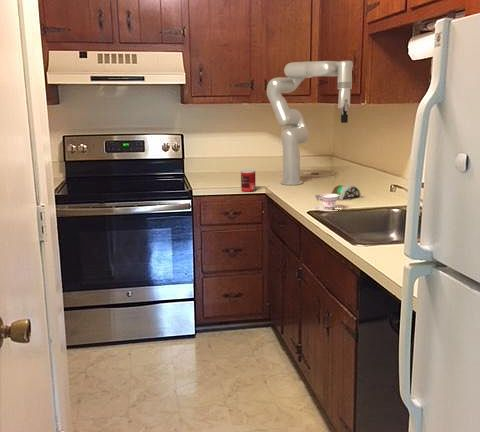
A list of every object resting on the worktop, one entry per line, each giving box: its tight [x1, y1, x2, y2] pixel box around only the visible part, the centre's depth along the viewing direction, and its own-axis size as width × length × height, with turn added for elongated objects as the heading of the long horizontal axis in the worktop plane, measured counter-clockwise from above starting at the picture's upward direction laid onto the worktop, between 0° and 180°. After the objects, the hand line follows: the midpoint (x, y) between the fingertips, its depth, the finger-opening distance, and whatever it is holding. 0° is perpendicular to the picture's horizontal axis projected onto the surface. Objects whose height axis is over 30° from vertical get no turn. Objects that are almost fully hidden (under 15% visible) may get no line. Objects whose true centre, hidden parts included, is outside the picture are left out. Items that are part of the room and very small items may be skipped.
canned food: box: [240, 169, 256, 193], centre depth 287 cm, size 8×8×11 cm
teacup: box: [315, 193, 344, 212], centre depth 241 cm, size 12×12×6 cm
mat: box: [314, 194, 352, 201], centre depth 265 cm, size 12×16×1 cm
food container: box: [331, 184, 362, 201], centre depth 265 cm, size 12×6×10 cm
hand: (344, 122), depth 278 cm, fingers closed
